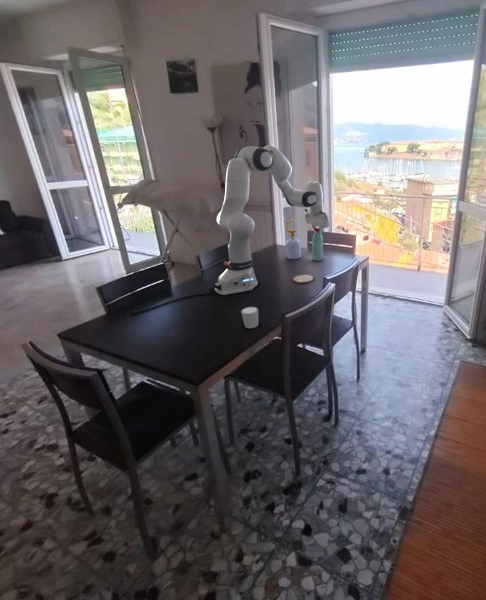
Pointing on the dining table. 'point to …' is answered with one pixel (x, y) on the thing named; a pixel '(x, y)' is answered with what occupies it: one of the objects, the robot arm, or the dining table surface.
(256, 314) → the white cylinder
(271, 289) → the dining table surface
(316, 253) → the bottle
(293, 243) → the soap bottle
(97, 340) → the dining table surface
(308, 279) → the coaster
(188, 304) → the dining table surface
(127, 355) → the dining table surface
